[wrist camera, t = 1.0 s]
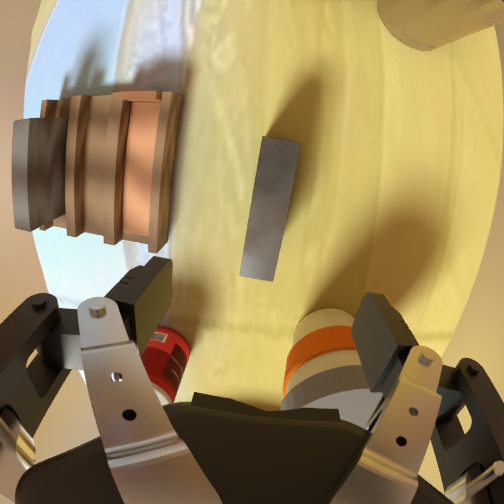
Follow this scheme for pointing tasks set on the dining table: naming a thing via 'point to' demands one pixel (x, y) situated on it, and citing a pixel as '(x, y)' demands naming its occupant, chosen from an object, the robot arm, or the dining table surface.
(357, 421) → the reusable coffee cup
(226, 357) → the dining table surface
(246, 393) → the dining table surface
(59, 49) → the dining table surface
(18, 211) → the rack
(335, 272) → the dining table surface
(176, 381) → the canned food
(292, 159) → the panel
